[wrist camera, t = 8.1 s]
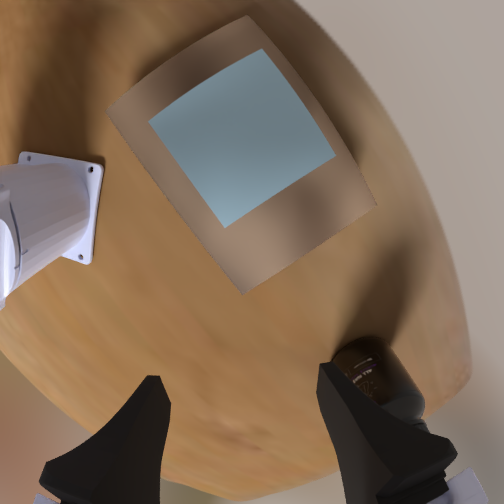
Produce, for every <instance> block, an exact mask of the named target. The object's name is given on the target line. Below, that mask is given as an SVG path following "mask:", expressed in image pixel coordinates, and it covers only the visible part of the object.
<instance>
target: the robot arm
mask: <svg viewBox="0 0 504 504" xmlns="http://www.w3.org/2000/svg"><path fill="white" fill-rule="evenodd" d="M30 156H31V160H30ZM91 167H93V172H91V171H90V168H91ZM103 172H104V168H103V166H102V165H101V164H97V163H92V162H87V161H81V160H76V159H70V158H64V157H58V156H52V155H46V154H40V153H33V152H26V151H24V152H21V153H20V155H19V160H18V163H17V164H10V165H4V166H0V310H1V309H2V308H4V307H5V299H6V297H7V296H8V295H9V294H10V293H11V292H12V291H13V290H14V289H16V288H17V287H18V286H20V285H21V284H22V283H23V282H25V281H26V280H27V279H29V278H30V277H31V276H33V275H34V274H35V273H37V272H38V271H39V270H41V269H42V268H44V267H45V266H46V265H48V264H49V263H51V262H52V261H54V260H55V259H56V258H58V257H59V256H63V257H66V258H69V259H72V260H75V261H78V262H81V263H84V264H89V263H91V262H92V259H93V245H94V234H95V225H96V216H97V209H98V202H99V195H100V189H101V183H102V178H103ZM80 254H81V255H82V256H83V258H81V256H80ZM316 394H317V398H318V402H319V407H320V411H321V414H322V416H323V419H324V422H325V424H326V427H327V430H328V432H329V435H330V438H331V440H332V443H333V445H334V448H335V451H336V455H337V459H338V463H339V467H340V471H341V476H342V481H343V486H344V492H345V498H346V503H347V504H487V503H488V502H489V500H488V498H487V496H486V494H485V492H484V490H483V488H482V486H481V484H480V483H479V481H478V479H477V477H476V475H475V474H474V472H473V470H472V468H471V467H468V468H467V469H466V470H464V471H462V472H461V473H459V474H457V475H456V476H454V477H453V478H451V479H450V480H448V481H447V482H445V480H444V478H445V477H446V473H445V471H444V470H445V469H446V468H447V467H448V466H449V465H450V463H452V462H453V461H454V459H455V458H456V456H457V454H458V453H457V451H456V449H455V448H454V446H453V444H452V443H451V441H450V440H449V439H448V438H444V437H441V436H438V435H434V434H431V433H428V432H426V431H423V430H421V429H418V428H416V427H414V426H412V425H410V424H408V423H406V422H404V421H402V420H400V419H399V418H397V417H395V416H394V415H392V414H391V413H389V412H388V411H386V410H385V409H383V408H382V407H380V406H379V405H378V404H377V403H375V402H374V401H373V400H372V399H370V398H369V397H368V396H367V395H366V394H365V393H363V392H362V391H361V390H360V389H359V388H358V387H357V386H356V385H355V384H354V383H353V382H352V381H351V380H350V379H349V378H348V377H347V376H346V375H345V374H344V373H343V372H342V371H341V370H340V368H339V367H338V366H337V365H336V364H335V363H334V362H333V361H332V362H327V363H321V364H320V365H319V374H318V383H317V391H316ZM170 411H171V402H170V400H169V398H168V395H167V393H166V390H165V388H164V386H163V383H162V381H161V378H160V376H151V375H147V376H146V378H145V379H144V380H143V381H142V383H141V384H140V385H139V387H138V388H137V389H136V390H135V392H134V393H133V394H132V396H131V397H130V398H129V399H128V400H127V402H126V403H125V404H124V405H123V406H122V408H121V409H120V410H119V411H118V412H117V413H116V414H115V415H114V416H113V418H112V419H111V420H110V421H109V422H108V423H107V424H106V425H105V426H104V427H102V428H101V429H100V430H99V431H98V432H97V433H96V434H94V435H93V436H92V437H90V438H89V439H88V440H86V441H85V442H84V443H82V444H81V445H79V446H78V447H76V448H74V449H73V450H71V451H69V452H67V453H66V454H64V455H62V456H59V457H57V458H55V459H53V460H50V461H48V462H46V464H45V467H44V469H43V472H42V474H41V477H40V479H39V483H40V485H41V486H43V487H44V488H45V489H46V490H48V491H49V492H50V493H52V494H53V495H55V496H56V497H57V498H59V499H60V500H61V503H60V504H160V471H161V461H162V456H163V451H164V446H165V441H166V437H167V432H168V427H169V422H170ZM33 504H59V503H57V502H55V501H53V500H51V499H49V498H47V497H45V496H43V495H41V494H39V493H37V494H36V497H35V500H34V503H33Z"/></svg>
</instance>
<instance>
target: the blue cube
mask: <svg viewBox="0 0 504 504" xmlns="http://www.w3.org/2000/svg"><path fill="white" fill-rule="evenodd" d="M148 122H149V124H150V125H151V127H152V128H153V129H154V131H155V132H156V134H157V135H158V136H159V138H160V139H161V141H162V142H163V143H164V145H165V146H166V148H167V149H168V150H169V152H170V153H171V155H172V156H173V157H174V159H175V160H176V162H177V163H178V164H179V166H180V167H181V168H182V170H183V171H184V173H185V174H186V175H187V177H188V178H189V180H190V181H191V182H192V184H193V185H194V187H195V188H196V189H197V191H198V192H199V193H200V195H201V196H202V198H203V199H204V200H205V202H206V203H207V204H208V206H209V207H210V209H211V210H212V211H213V213H214V214H215V215H216V217H217V218H218V220H219V221H220V222H221V224H222V225H223V226H224V228H226V227H227V226H229V225H230V224H232V223H233V222H235V221H236V220H238V219H239V218H241V217H242V216H244V215H245V214H247V213H248V212H250V211H251V210H253V209H254V208H256V207H257V206H259V205H260V204H262V203H263V202H265V201H266V200H268V199H269V198H271V197H272V196H274V195H275V194H277V193H278V192H280V191H281V190H283V189H284V188H286V187H288V186H289V185H291V184H292V183H294V182H295V181H297V180H298V179H300V178H302V177H303V176H305V175H306V174H308V173H309V172H311V171H313V170H314V169H316V168H317V167H319V166H321V165H322V164H324V163H325V162H327V161H329V160H330V159H332V158H333V157H335V156H336V155H335V153H334V151H333V149H332V148H331V146H330V144H329V143H328V141H327V139H326V138H325V136H324V135H323V133H322V131H321V130H320V128H319V127H318V125H317V123H316V122H315V120H314V119H313V117H312V116H311V114H310V113H309V111H308V110H307V108H306V107H305V105H304V104H303V102H302V101H301V100H300V98H299V97H298V95H297V94H296V92H295V91H294V90H293V88H292V87H291V85H290V84H289V83H288V81H287V80H286V79H285V77H284V76H283V75H282V73H281V72H280V71H279V69H278V68H277V67H276V66H275V64H274V63H273V62H272V60H271V59H270V58H269V57H268V55H267V54H266V53H265V52H264V51H263V49H260V50H258V51H256V52H254V53H252V54H250V55H248V56H246V57H245V58H243V59H241V60H239V61H237V62H235V63H234V64H232V65H230V66H228V67H227V68H225V69H223V70H221V71H220V72H218V73H216V74H215V75H213V76H212V77H210V78H208V79H207V80H205V81H204V82H202V83H201V84H199V85H197V86H196V87H194V88H193V89H191V90H190V91H188V92H187V93H186V94H184V95H183V96H181V97H180V98H178V99H177V100H176V101H174V102H173V103H171V104H170V105H169V106H167V107H166V108H165V109H163V110H162V111H161V112H159V113H158V114H157V115H155V116H154V117H153V118H152V119H150V120H149V121H148Z"/></svg>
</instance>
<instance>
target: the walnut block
mask: <svg viewBox="0 0 504 504" xmlns="http://www.w3.org/2000/svg"><path fill="white" fill-rule="evenodd" d="M260 49H263V51H264V52H265V53H266V54H267V55H268V57H269V58H270V59H271V60H272V62H273V63H274V64H275V66H276V67H277V68H278V69H279V71H280V72H281V73H282V75H283V76H284V77H285V79H286V80H287V81H288V83H289V84H290V85H291V87H292V88H293V90H294V91H295V92H296V94H297V95H298V97H299V98H300V100H301V101H302V102H303V104H304V105H305V107H306V108H307V110H308V111H309V113H310V114H311V116H312V117H313V119H314V120H315V122H316V123H317V125H318V127H319V128H320V130H321V131H322V133H323V135H324V136H325V138H326V139H327V141H328V143H329V144H330V146H331V148H332V149H333V151H334V153H335V155H336V156H335V157H333V158H332V159H330V160H329V161H327V162H325V163H324V164H322V165H321V166H319V167H317V168H316V169H314V170H313V171H311V172H309V173H308V174H306V175H305V176H303V177H302V178H300V179H298V180H297V181H295V182H294V183H292V184H291V185H289V186H288V187H286V188H284V189H283V190H281V191H280V192H278V193H277V194H275V195H274V196H272V197H271V198H269V199H268V200H266V201H265V202H263V203H262V204H260V205H259V206H257V207H256V208H254V209H253V210H251V211H250V212H248V213H247V214H245V215H244V216H242V217H241V218H239V219H238V220H236V221H235V222H233V223H232V224H230V225H229V226H227V227H226V228H224V226H223V225H222V224H221V222H220V221H219V220H218V218H217V217H216V215H215V214H214V213H213V211H212V210H211V209H210V207H209V206H208V204H207V203H206V202H205V200H204V199H203V198H202V196H201V195H200V193H199V192H198V191H197V189H196V188H195V187H194V185H193V184H192V182H191V181H190V180H189V178H188V177H187V175H186V174H185V173H184V171H183V170H182V168H181V167H180V166H179V164H178V163H177V162H176V160H175V159H174V157H173V156H172V155H171V153H170V152H169V150H168V149H167V148H166V146H165V145H164V143H163V142H162V141H161V139H160V138H159V136H158V135H157V134H156V132H155V131H154V129H153V128H152V127H151V125H150V124H149V122H148V121H149V120H150V119H152V118H153V117H154V116H155V115H157V114H158V113H159V112H161V111H162V110H163V109H165V108H166V107H167V106H169V105H170V104H171V103H173V102H174V101H176V100H177V99H178V98H180V97H181V96H183V95H184V94H186V93H187V92H188V91H190V90H191V89H193V88H194V87H196V86H197V85H199V84H201V83H202V82H204V81H205V80H207V79H208V78H210V77H212V76H213V75H215V74H216V73H218V72H220V71H221V70H223V69H225V68H227V67H228V66H230V65H232V64H234V63H235V62H237V61H239V60H241V59H243V58H245V57H246V56H248V55H250V54H252V53H254V52H256V51H258V50H260ZM105 112H106V114H107V115H108V117H109V118H110V120H111V121H112V123H113V124H114V126H115V127H116V128H117V130H118V131H119V133H120V134H121V136H122V137H123V138H124V140H125V141H126V143H127V144H128V146H129V147H130V148H131V150H132V151H133V153H134V154H135V155H136V157H137V158H138V160H139V161H140V162H141V164H142V165H143V167H144V168H145V169H146V171H147V172H148V173H149V175H150V176H151V177H152V179H153V180H154V182H155V183H156V184H157V186H158V187H159V188H160V190H161V191H162V192H163V194H164V195H165V196H166V198H167V199H168V200H169V202H170V203H171V204H172V206H173V207H174V208H175V210H176V211H177V212H178V214H179V215H180V216H181V218H182V219H183V220H184V222H185V223H186V224H187V226H188V227H189V228H190V229H191V231H192V232H193V233H194V235H195V236H196V237H197V239H198V240H199V241H200V242H201V244H202V245H203V246H204V248H205V249H206V250H207V251H208V253H209V254H210V255H211V256H212V258H213V259H214V260H215V262H216V263H217V264H218V265H219V267H220V268H221V269H222V270H223V272H224V273H225V274H226V275H227V277H228V278H229V279H230V280H231V282H232V283H233V284H234V285H235V287H236V288H237V289H238V290H239V291H240V293H241V294H242V295H243V294H245V293H247V292H248V291H250V290H251V289H253V288H254V287H256V286H258V285H259V284H261V283H262V282H264V281H265V280H267V279H268V278H270V277H272V276H273V275H275V274H276V273H278V272H279V271H281V270H282V269H284V268H285V267H287V266H288V265H290V264H292V263H293V262H295V261H296V260H298V259H299V258H301V257H302V256H304V255H305V254H307V253H308V252H310V251H311V250H313V249H314V248H316V247H317V246H319V245H320V244H322V243H323V242H325V241H326V240H328V239H329V238H330V237H332V236H333V235H335V234H336V233H338V232H339V231H341V230H342V229H344V228H345V227H347V226H348V225H349V224H351V223H352V222H354V221H355V220H357V219H358V218H360V217H361V216H362V215H364V214H365V213H367V212H368V211H370V210H371V209H372V208H374V207H375V206H377V203H376V201H375V199H374V197H373V195H372V193H371V191H370V189H369V187H368V185H367V183H366V181H365V179H364V177H363V175H362V173H361V172H360V170H359V168H358V166H357V164H356V162H355V161H354V159H353V157H352V155H351V153H350V152H349V150H348V148H347V147H346V145H345V143H344V142H343V140H342V138H341V137H340V135H339V133H338V132H337V130H336V128H335V127H334V125H333V124H332V122H331V120H330V119H329V117H328V116H327V114H326V113H325V111H324V110H323V108H322V107H321V105H320V104H319V102H318V101H317V99H316V98H315V97H314V95H313V94H312V92H311V91H310V89H309V88H308V87H307V85H306V84H305V83H304V81H303V80H302V78H301V77H300V76H299V74H298V73H297V72H296V70H295V69H294V68H293V67H292V65H291V64H290V63H289V61H288V60H287V59H286V58H285V56H284V55H283V54H282V53H281V52H280V50H279V49H278V48H277V47H276V46H275V44H274V43H273V42H272V41H271V40H270V39H269V37H268V36H267V35H266V34H265V33H264V32H263V31H262V30H261V28H260V27H259V26H258V25H257V24H256V23H255V22H254V21H253V20H252V19H251V18H250V17H249V16H248V15H246V16H244V17H242V18H239V19H237V20H235V21H233V22H231V23H229V24H227V25H225V26H223V27H222V28H220V29H218V30H216V31H214V32H212V33H211V34H209V35H207V36H205V37H203V38H202V39H200V40H198V41H197V42H195V43H193V44H192V45H190V46H189V47H187V48H185V49H184V50H182V51H181V52H179V53H178V54H176V55H175V56H173V57H172V58H170V59H169V60H167V61H166V62H164V63H163V64H162V65H160V66H159V67H157V68H156V69H155V70H153V71H152V72H151V73H149V74H148V75H147V76H145V77H144V78H143V79H142V80H140V81H139V82H138V83H137V84H135V85H134V86H133V87H132V88H130V89H129V90H128V91H127V92H126V93H124V94H123V95H122V96H121V97H120V98H119V99H118V100H116V101H115V102H114V103H113V104H112V105H111V106H110V107H109V108H108V109H107V110H105Z"/></svg>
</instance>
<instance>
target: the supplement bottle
mask: <svg viewBox="0 0 504 504" xmlns="http://www.w3.org/2000/svg"><path fill="white" fill-rule="evenodd" d="M333 362H334V363H335V364H336V365H337V366H338V367H339V368H340V370H341V371H342V372H343V373H344V374H345V375H346V376H347V377H348V378H349V379H350V380H351V381H352V382H353V383H354V384H355V385H356V386H357V387H358V388H359V389H360V390H361V391H362V392H363V393H365V394H366V395H367V396H368V397H369V398H370V399H372V400H373V401H374V402H375V403H377V404H378V405H379V406H380V407H382V408H383V409H385V410H386V411H388V412H389V413H391V414H392V415H394V416H395V417H397V418H399V419H400V420H402V421H404V422H406V423H408V424H410V425H412V426H414V427H416V428H418V429H421V430H423V431H426V432H428V433H430V432H429V430H428V428H427V425H426V423H425V421H424V420H423V419H421V417H422V415H423V413H424V409H425V400H424V397H423V395H422V393H421V392H420V390H419V389H418V387H417V386H416V384H415V383H414V381H413V379H412V378H411V376H410V375H409V373H408V372H407V370H406V369H405V367H404V366H403V364H402V363H401V361H400V360H399V358H398V357H397V356H396V354H395V353H394V351H393V350H392V348H391V347H390V346H389V344H388V343H387V342H386V341H385V340H383V339H381V338H377V337H365V338H361V339H358V340H356V341H354V342H352V343H350V344H348V345H347V346H345V347H344V348H343V349H342V350H341V351H340V352H339V353H338V354H337V355H336V356H335V358H334V359H333Z"/></svg>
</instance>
